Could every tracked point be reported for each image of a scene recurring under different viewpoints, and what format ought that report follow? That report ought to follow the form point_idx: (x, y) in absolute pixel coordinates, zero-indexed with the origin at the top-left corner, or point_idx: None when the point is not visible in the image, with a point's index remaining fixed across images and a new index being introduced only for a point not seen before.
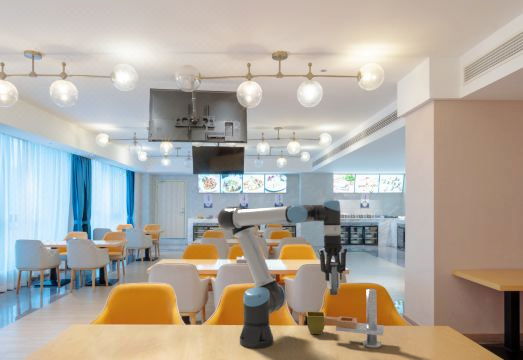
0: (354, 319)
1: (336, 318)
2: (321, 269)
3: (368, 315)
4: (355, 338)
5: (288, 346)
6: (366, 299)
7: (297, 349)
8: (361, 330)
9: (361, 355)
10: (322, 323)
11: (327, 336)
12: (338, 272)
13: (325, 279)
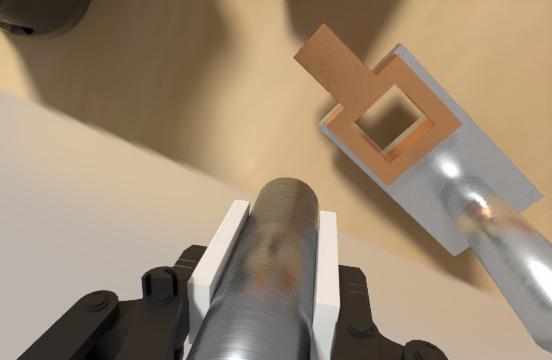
0: (428, 143)
1: (353, 88)
2: (71, 323)
3: (461, 229)
4: (440, 80)
5: (139, 58)
6: (502, 264)
7: (161, 100)
8: (396, 201)
9: None
10: None
11: (345, 4)
12: (332, 343)
13: (185, 250)
